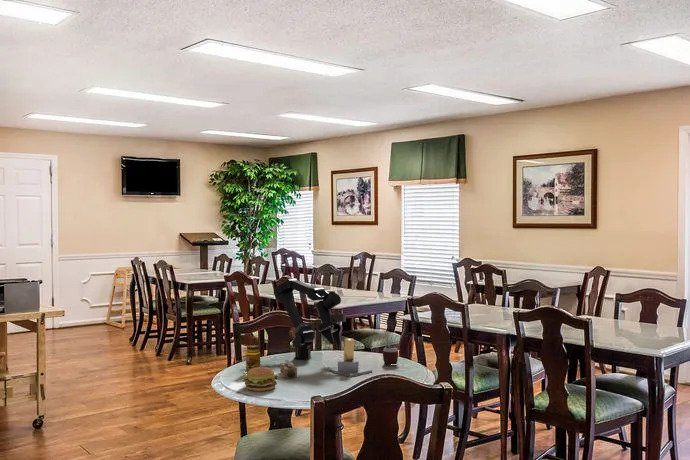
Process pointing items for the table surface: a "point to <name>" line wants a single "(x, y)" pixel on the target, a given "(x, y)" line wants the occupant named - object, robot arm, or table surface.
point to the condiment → (252, 357)
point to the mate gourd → (390, 354)
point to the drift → (288, 363)
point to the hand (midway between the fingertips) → (336, 344)
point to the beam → (288, 371)
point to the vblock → (350, 368)
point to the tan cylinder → (348, 349)
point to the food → (260, 379)
